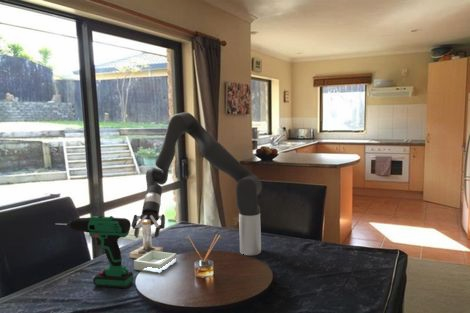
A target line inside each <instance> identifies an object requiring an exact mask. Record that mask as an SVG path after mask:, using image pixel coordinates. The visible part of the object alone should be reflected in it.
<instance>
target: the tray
mask: <svg viewBox="0 0 470 313" xmlns="http://www.w3.org/2000/svg"><path fill="white" fill-rule="evenodd" d="M165 258H166V259H165ZM175 258H177V253H175V252H174V253H173V252H165V251H163V252H159V251H150V252H148V253H147V254H145V255H143V256H141V257H140V258H138V259H137V258H135V260H133V267H134V268H133V269H134V270H136V271H141V270H143V269H144V268H147V267H152V268H158V269H160V268H162V267H163V266H165V265H166V264H168V263H169V262H171V261H172V260H173V259H175ZM161 259H165V260H163V261H162V262H160V263H154V262H156V261H158V260H161Z"/></svg>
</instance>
